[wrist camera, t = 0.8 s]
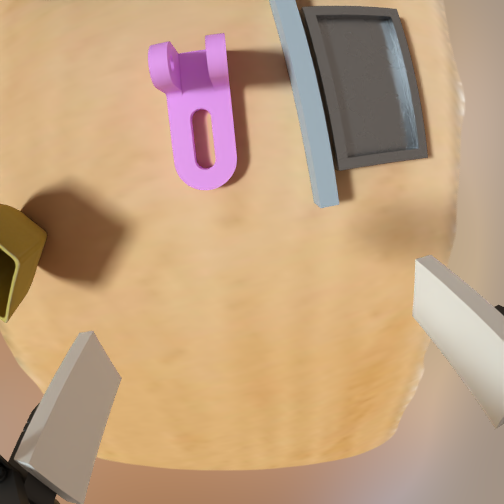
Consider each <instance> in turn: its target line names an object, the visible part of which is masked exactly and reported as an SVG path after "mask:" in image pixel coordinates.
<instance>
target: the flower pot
mask: <svg viewBox="0 0 504 504" xmlns="http://www.w3.org/2000/svg"><path fill="white" fill-rule="evenodd" d="M46 239H47V233H46V232H45V230H43V229H42V228H41V227H39V226H38V225H37V224H36V223H34V222H33V221H32V220H31V219H29V218H28V217H27V216H26V215H25V214H23V213H22V212H21V211H19V210H17V209H15V208H13V207H11V206H8V205H3V204H0V319H1V320H2V321H4V322H5V323H7V322H8V320H9V319H10V317H11V316H12V315H13V313H14V312H15V310H16V309H17V307H18V306H19V304H20V303H21V302H22V300H23V299H24V297H25V296H26V294H27V292H28V290H29V288H30V286H31V284H32V281H33V278H34V275H35V272H36V269H37V265H38V262H39V259H40V256H41V253H42V250H43V247H44V245H45V242H46Z"/></svg>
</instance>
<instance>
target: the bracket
mask: <svg viewBox="0 0 504 504" xmlns="http://www.w3.org/2000/svg"><path fill="white" fill-rule="evenodd" d="M205 44H206V50H199V51H192V52H186V53H180V54H178V52H177V51H176V49H175V48H174V47H173V45H172V44H171V42H164V43H159V44H155V45H151V46H150V47H149V52H148V63H149V71H150V75H151V79H152V82H153V84H154V86H155V87H156V88H157V89H159V90H160V91H162V92H164V93H165V94H166V96H167V104H168V114H169V123H170V131H171V140H172V148H173V156H174V163H175V168H176V171H177V173H178V175H179V177H180V178H181V179H182V180H183V181H184V182H185V183H186V184H187V185H189V186H191V187H193V188H195V189H199V190H211V189H215V188H218V187H220V186H222V185H223V184H225V183H226V182H227V181H228V180H229V179H230V178H231V176H232V175H233V173H234V171H235V168H236V164H237V153H236V143H235V134H234V124H233V114H232V105H231V95H230V85H229V75H228V65H227V55H226V45H225V35H224V33H222V34H213V35H206V36H205ZM198 110H207V111H208V112H209V113H210V114H211V120H212V129H213V138H214V147H215V156H216V162H215V164H214V165H213V166H212V167H210V168H203V167H201V166H200V165H199V164H198V163H197V159H196V151H195V142H194V134H193V125H192V117H193V115H194V113H195V112H196V111H198Z"/></svg>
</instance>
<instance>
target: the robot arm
mask: <svg viewBox="0 0 504 504" xmlns="http://www.w3.org/2000/svg"><path fill="white" fill-rule="evenodd" d="M412 316H413V317H414V318H415V320H416V321H417V322H418V323H419V325H420V326H421V327H422V328H423V329H424V331H425V332H426V333H427V334H428V336H429V337H430V338H431V340H432V341H433V342H434V343H435V344H436V346H437V347H438V348H439V350H440V351H441V352H442V354H443V355H444V356H445V358H446V359H447V360H448V362H449V363H450V364H451V366H452V367H453V368H454V370H455V371H456V372H457V374H458V375H459V376H460V378H461V379H462V380H463V382H464V383H465V385H466V386H467V388H468V389H469V390H470V392H471V393H472V395H473V396H474V397H475V399H476V400H477V402H478V403H479V405H480V406H481V407H482V409H483V411H484V412H485V414H486V415H487V416H488V418H489V420H490V421H491V423H492V424H493V426H494V427H495V429H496V428H498V427H499V426H501V425H502V424H504V307H502V306H500V305H497V306H495V307H493V306H492V305H491V304H490V303H489V302H488V301H487V300H485V299H484V298H483V297H482V296H481V295H480V294H479V293H477V292H476V291H475V290H474V289H473V288H471V287H470V286H469V285H468V284H467V283H466V282H464V281H463V280H462V279H461V278H459V277H458V276H457V275H456V274H455V273H453V272H452V271H451V270H450V269H448V268H447V267H446V266H445V265H443V264H442V263H441V262H440V261H438V260H437V259H436V258H434V257H433V256H432V255H428V256H425V257H421V258H418V259H415V286H414V303H413V315H412ZM120 381H121V376H120V375H119V373H118V372H117V370H116V369H115V367H114V365H113V364H112V362H111V361H110V359H109V357H108V356H107V354H106V352H105V351H104V349H103V347H102V345H101V344H100V342H99V340H98V339H97V337H96V335H95V333H94V331H89V332H82V333H79V335H78V336H77V338H76V339H75V341H74V343H73V344H72V346H71V348H70V349H69V351H68V353H67V355H66V356H65V358H64V360H63V361H62V363H61V365H60V367H59V369H58V370H57V372H56V374H55V376H54V377H53V379H52V381H51V383H50V385H49V387H48V389H47V390H46V392H45V394H44V396H43V398H42V400H41V402H40V403H39V404H38V405H37V406H36V407H35V409H34V410H33V411H32V412H31V414H30V416H29V419H28V421H27V423H26V425H25V427H24V429H23V430H24V431H23V432H22V433H21V435H20V437H19V439H18V441H17V444H16V446H15V448H14V450H13V453H12V455H11V457H10V460H9V461H8V462H7V461H6V460H5V459H4V458H3V457H2V456H1V455H0V504H60V503H59V502H58V501H57V500H56V499H55V497H56V494H58V495H59V496H60V497H62V498H63V499H65V500H66V501H68V502H72V503H76V504H84V500H85V496H86V492H87V488H88V485H89V481H90V477H91V473H92V469H93V466H94V462H95V459H96V456H97V452H98V449H99V445H100V442H101V439H102V435H103V432H104V429H105V426H106V423H107V420H108V416H109V413H110V410H111V407H112V404H113V401H114V398H115V395H116V393H117V390H118V387H119V384H120Z"/></svg>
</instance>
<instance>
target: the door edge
mask: <svg viewBox="0 0 504 504" xmlns="http://www.w3.org/2000/svg"><path fill="white" fill-rule="evenodd" d="M269 2H270V5H271V9H272V12H273V16H274V19H275V23H276V26H277V30H278V34H279V38H280V41H281V45H282V49H283V53H284V57H285V61H286V65H287V69H288V73H289V77H290V82H291V86H292V90H293V95H294V99H295V104H296V108H297V113H298V118H299V123H300V127H301V132H302V137H303V143H304V148H305V153H306V158H307V164H308V169H309V175H310V181H311V187H312V192H313V199H314V203H315V204H316V205H318V206H319V207H320V208H324V207H329V206H334V205H339V199H338V192H337V185H336V178H335V171H334V165H333V159H332V153H331V147H330V142H329V136H328V131H327V126H326V120H325V115H324V111H323V106H322V101H321V96H320V92H319V87H318V83H317V79H316V74H315V70H314V66H313V62H312V58H311V54H310V50H309V46H308V43H307V39H306V35H305V32H304V28H303V24H302V21H301V18H300V14H299V11H298V8H297V4H296V1H295V0H269Z"/></svg>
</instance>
